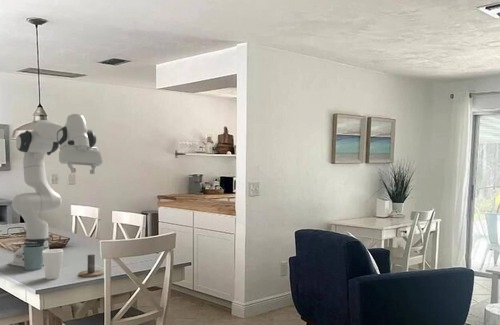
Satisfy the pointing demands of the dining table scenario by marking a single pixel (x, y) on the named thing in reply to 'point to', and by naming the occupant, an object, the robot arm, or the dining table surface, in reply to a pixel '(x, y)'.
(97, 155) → the robot arm
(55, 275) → the foam cup
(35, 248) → the teal canister
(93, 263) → the cover
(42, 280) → the dining table surface
